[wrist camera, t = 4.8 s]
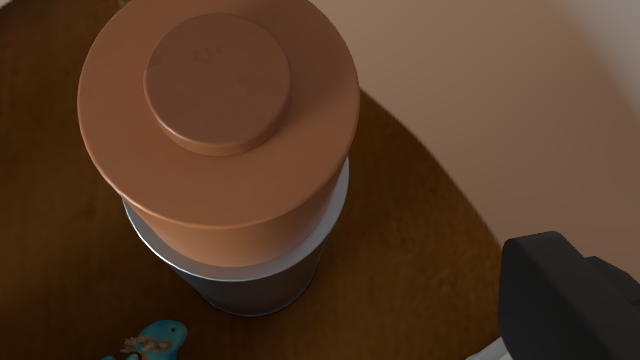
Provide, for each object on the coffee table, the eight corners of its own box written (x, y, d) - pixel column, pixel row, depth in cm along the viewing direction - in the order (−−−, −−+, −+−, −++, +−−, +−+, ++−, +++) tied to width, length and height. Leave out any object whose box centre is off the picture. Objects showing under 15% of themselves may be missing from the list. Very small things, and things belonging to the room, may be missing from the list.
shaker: (156, 266, 31) (64, 195, 17) (236, 160, 33) (211, 21, 19) (268, 345, 30) (265, 335, 17) (344, 231, 32) (395, 140, 18)
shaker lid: (90, 191, 17) (-1, 109, 12) (214, 41, 19) (188, -96, 13) (260, 309, 17) (253, 284, 11) (373, 143, 18) (419, 46, 13)
